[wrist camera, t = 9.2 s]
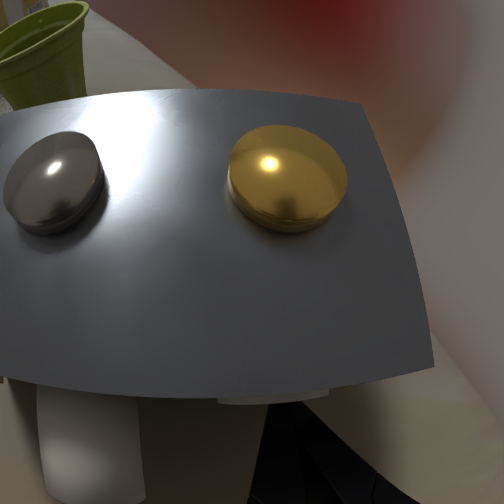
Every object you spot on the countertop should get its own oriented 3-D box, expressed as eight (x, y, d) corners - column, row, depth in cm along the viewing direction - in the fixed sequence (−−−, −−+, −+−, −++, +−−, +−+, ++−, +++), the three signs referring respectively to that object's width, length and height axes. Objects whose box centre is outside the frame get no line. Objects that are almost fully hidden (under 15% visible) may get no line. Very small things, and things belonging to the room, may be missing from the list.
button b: (153, 483, 8) (132, 517, 5) (70, 471, 7) (27, 492, 5) (146, 389, 9) (120, 391, 6) (64, 381, 9) (16, 376, 6)
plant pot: (120, 109, 21) (102, 14, 13) (17, 168, 18) (-31, 85, 10) (90, 67, 23) (75, -6, 16) (7, 112, 20) (-22, 44, 12)
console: (306, 382, 15) (451, 363, 5) (4, 369, 12) (-138, 323, 3) (292, 239, 18) (367, 90, 8) (21, 242, 16) (-74, 130, 6)
